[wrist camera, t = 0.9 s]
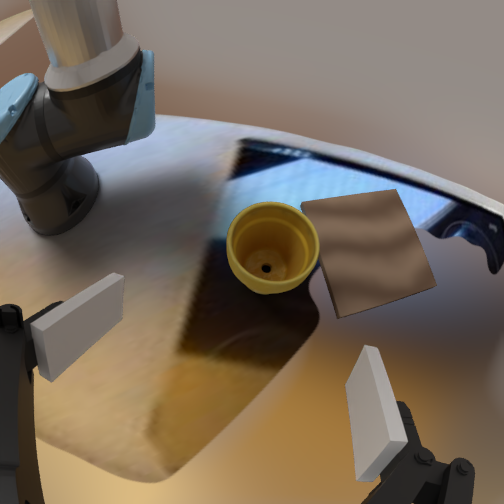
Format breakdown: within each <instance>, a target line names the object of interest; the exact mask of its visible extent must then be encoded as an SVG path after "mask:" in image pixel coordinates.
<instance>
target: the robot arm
mask: <svg viewBox="0 0 504 504" xmlns="http://www.w3.org/2000/svg"><path fill="white" fill-rule="evenodd" d="M29 2H30V5H31V8H32V11H33V15H34V18H35V21H36V23H37V26H38V29H39V32H40V35H41V38H42V40H43V43H44V46H45V49H46V51H47V54H48V56H49V59H50V61H51V64H50V66H49V68H48V70H47V72H46V74H45V77H44V82H41V83H39V82H38V81H39V80H38V78H37V77H36V76H35V75H34V74H32V73H25V74H22V75H20V76H18V77H16V78H14V79H13V80H11V81H10V82H8V83H7V84H6V85H5V86H3V87H2V88H1V89H0V178H1V180H2V181H3V182H4V183H5V184H6V185H7V186H8V187H9V188H10V189H11V191H12V192H13V193H14V194H15V195H16V197H17V200H18V203H19V205H20V208H21V211H22V213H23V216H24V218H25V220H26V222H27V223H28V224H29V225H30V226H31V227H32V228H33V229H34V230H35V231H36V232H38V233H40V234H43V235H56V234H60V233H62V232H65V231H67V230H69V229H70V228H72V227H73V226H75V225H76V224H77V223H79V222H80V221H81V220H82V219H83V218H84V217H85V215H86V214H87V213H88V212H89V210H90V209H91V207H92V205H93V203H94V201H95V199H96V196H97V193H98V186H99V182H98V176H97V174H96V172H95V170H94V168H93V166H92V164H91V163H90V162H89V161H88V160H87V159H86V158H84V157H82V156H81V155H84V154H87V153H91V152H95V151H99V150H103V149H107V148H111V147H116V146H120V145H127V144H128V143H129V142H133V141H136V140H140V139H143V138H146V137H148V136H149V135H150V134H151V133H152V132H153V131H154V129H155V97H154V53H153V51H150V50H149V51H147V50H142V51H140V46H139V42H138V40H137V38H136V37H134V36H132V35H130V34H127V33H125V32H123V30H122V25H121V20H120V15H119V9H118V4H117V0H29ZM124 278H125V276H122V275H119V274H116V273H114V272H113V273H111V274H110V275H108V276H106V277H105V278H103V279H101V280H100V281H98V282H96V283H95V284H93V285H91V286H90V287H88V288H86V289H85V290H83V291H81V292H80V293H78V294H76V295H75V296H73V297H72V298H70V299H68V300H67V301H65V302H63V301H59V302H56V303H52V304H50V305H49V306H47V307H46V308H45V309H42V310H41V311H40V312H37V313H36V314H34V315H33V316H31V317H29V318H28V319H26V320H25V321H23V315H22V309H21V308H20V307H19V306H17V305H14V304H5V305H2V306H0V504H45V502H44V498H43V493H42V488H41V481H40V474H39V467H38V460H37V450H36V440H35V425H34V373H33V368H34V367H36V366H37V365H38V369H39V374H40V375H41V376H42V377H44V378H45V379H47V380H49V381H50V382H53V381H54V380H55V379H56V378H57V377H58V376H59V375H61V374H62V373H63V372H64V371H65V370H66V369H67V368H68V367H69V366H70V365H71V364H73V363H74V362H75V361H76V360H77V359H78V358H79V357H80V356H81V355H82V354H84V353H85V352H86V351H87V350H88V349H89V348H90V347H91V346H92V345H94V344H95V343H96V342H97V341H98V340H99V339H100V338H101V337H103V336H104V335H105V334H106V333H107V332H108V331H109V330H111V329H112V328H113V327H114V326H115V325H116V324H117V323H118V322H120V321H121V320H122V312H123V293H124ZM345 387H346V394H347V402H348V409H349V417H350V425H351V433H352V442H353V453H354V463H355V474H356V481H362V482H373V481H374V480H375V479H376V478H377V477H378V476H379V475H380V477H381V482H380V483H379V485H377V486H376V487H375V488H374V489H373V490H372V491H371V492H370V493H369V495H368V497H367V498H366V499H365V500H364V501H363V502H362V503H361V504H411V503H414V504H472V497H473V488H474V478H475V470H474V467H473V465H472V464H471V463H470V462H469V461H468V460H466V459H464V458H456V459H454V460H453V461H452V462H451V463H450V464H445V463H441V462H438V461H436V460H435V457H434V455H433V453H432V452H430V450H428V449H427V448H424V447H422V445H421V442H420V439H419V436H418V433H417V430H416V426H414V421H413V419H412V415H411V412H410V409H409V408H408V407H407V406H406V404H405V403H404V402H401V401H396V400H395V397H394V394H393V391H392V388H391V385H390V382H389V379H388V376H387V373H386V370H385V367H384V364H383V361H382V359H381V356H380V353H379V350H378V348H376V347H372V346H367V345H364V347H363V349H362V352H361V354H360V356H359V358H358V360H357V362H356V364H355V366H354V368H353V370H352V372H351V375H350V376H349V378H348V380H347V382H346V384H345Z"/></svg>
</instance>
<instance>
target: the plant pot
mask: <svg viewBox="0 0 504 504" xmlns="http://www.w3.org/2000/svg"><path fill="white" fill-rule="evenodd" d="M319 250H320V243H319V238H318V234H317V231H316V229H315V227H314V225H313V224H312V222H311V221H310V220H309V219H308V218H307V217H306V216H305V215H304V214H303V213H302V212H300V211H299V210H297V209H296V208H294V207H292V206H289V205H287V204H284V203H279V202H261V203H257V204H254V205H251V206H249V207H247V208H245V209H244V210H242V211H241V212H240V213H239V214H238V215H237V216H236V217H235V218H234V220H233V221H232V223H231V225H230V227H229V230H228V234H227V257H228V261H229V264H230V267H231V269H232V271H233V273H234V274H235V275H236V277H237V278H238V279H239V280H240V281H241V282H242V283H244V284H245V285H246V286H247V287H248V288H249V289H250V290H252V291H254V292H256V293H259V294H272V293H281V292H285V291H288V290H291V289H293V288H295V287H296V286H298V285H299V284H300V283H302V282H303V281H304V280H305V279H306V277H307V276H308V275H309V274H310V272H311V271H312V270H313V268H314V266H315V264H316V262H317V260H318V256H319ZM264 265H268V266H270V268H271V271H270V272H269V273H265V272H263V271H262V266H264Z"/></svg>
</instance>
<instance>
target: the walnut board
mask: <svg viewBox="0 0 504 504" xmlns="http://www.w3.org/2000/svg"><path fill="white" fill-rule="evenodd" d="M300 207H301V210H302V212H303V214H304V215H305V216H306V217H307V218H308V219H309V220H310V221H311V222H312V224H313V225H314V227H315V229H316V231H317V234H318V238H319V243H320V250H319V256H318V259H319V262H320V265H321V268H322V271H323V274H324V278H325V281H326V284H327V287H328V290H329V293H330V297H331V300H332V303H333V306H334V310H335V313H336V316H337V319H339V318H342V317H346V316H349V315H352V314H356V313H359V312H362V311H366V310H369V309H372V308H375V307H378V306H381V305H384V304H387V303H390V302H394V301H396V300H399V299H402V298H405V297H408V296H411V295H414V294H417V293H420V292H422V291H425V290H428V289H430V288H433V287H435V286H437V284H436V282H435V279H434V276H433V273H432V271H431V268H430V266H429V263H428V261H427V258H426V255H425V253H424V250H423V248H422V245H421V243H420V241H419V238H418V236H417V234H416V231H415V229H414V227H413V224H412V222H411V220H410V218H409V216H408V213H407V211H406V209H405V207H404V205H403V203H402V201H401V199H400V197H399V194H398V192H397V190H396V189H392V190H384V191H376V192H369V193H361V194H354V195H347V196H339V197H332V198H326V199H319V200H312V201H306V202H302V203H301V206H300Z"/></svg>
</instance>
